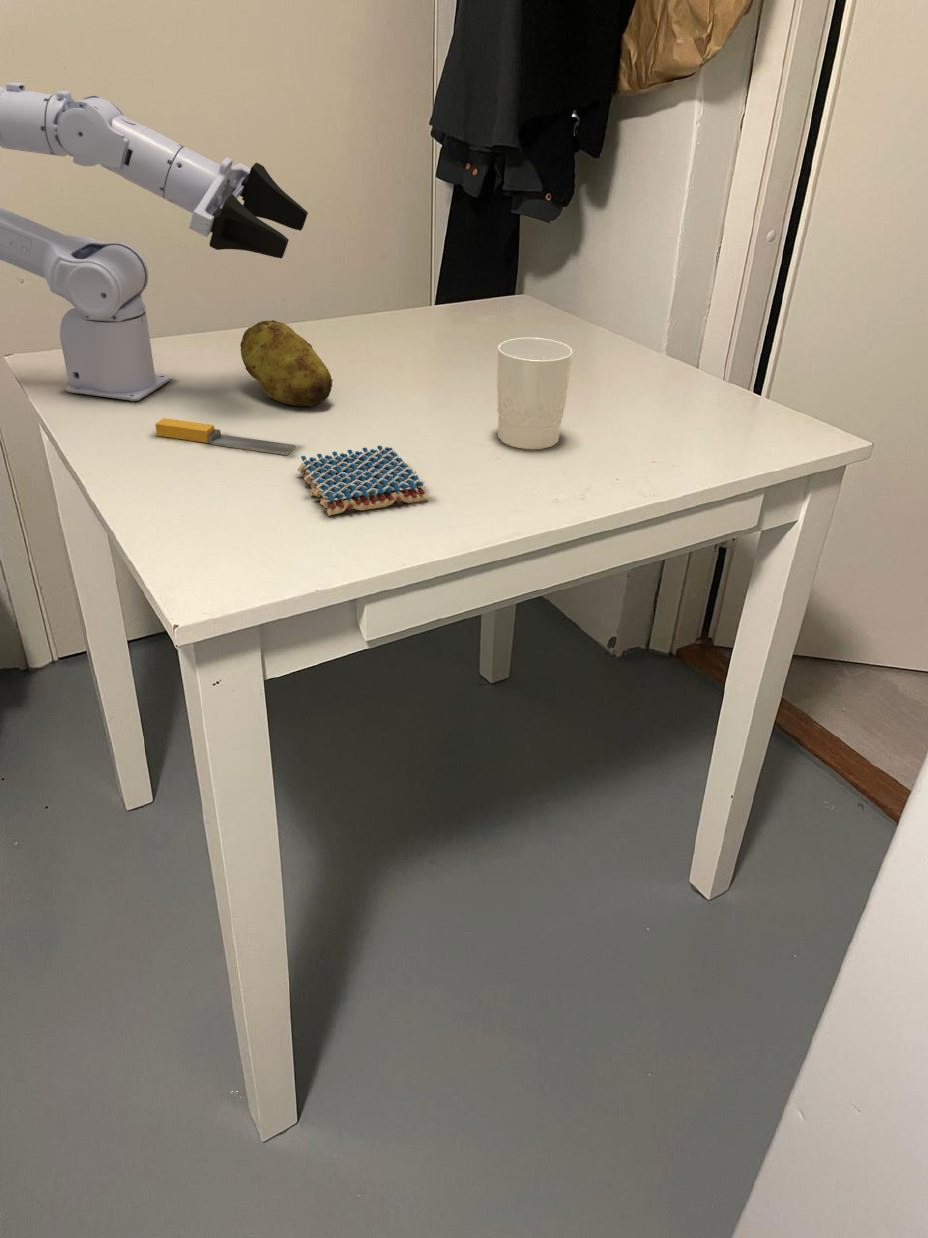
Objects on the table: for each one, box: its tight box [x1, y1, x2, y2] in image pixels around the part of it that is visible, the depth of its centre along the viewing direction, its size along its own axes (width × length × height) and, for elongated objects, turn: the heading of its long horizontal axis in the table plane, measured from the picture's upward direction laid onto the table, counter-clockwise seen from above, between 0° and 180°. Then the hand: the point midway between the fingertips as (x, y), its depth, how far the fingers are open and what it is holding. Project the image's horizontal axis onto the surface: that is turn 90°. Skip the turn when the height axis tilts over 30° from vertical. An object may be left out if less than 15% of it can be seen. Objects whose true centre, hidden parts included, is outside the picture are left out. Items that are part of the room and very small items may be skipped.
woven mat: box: [297, 445, 430, 516], centre depth 93 cm, size 10×11×2 cm
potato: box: [239, 319, 333, 407], centre depth 112 cm, size 8×13×8 cm, turn 28°
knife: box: [155, 417, 296, 456], centre depth 102 cm, size 15×2×1 cm, turn 75°
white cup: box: [496, 337, 574, 450], centre depth 103 cm, size 8×8×10 cm
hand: (295, 235), depth 104 cm, fingers open, 7 cm apart
